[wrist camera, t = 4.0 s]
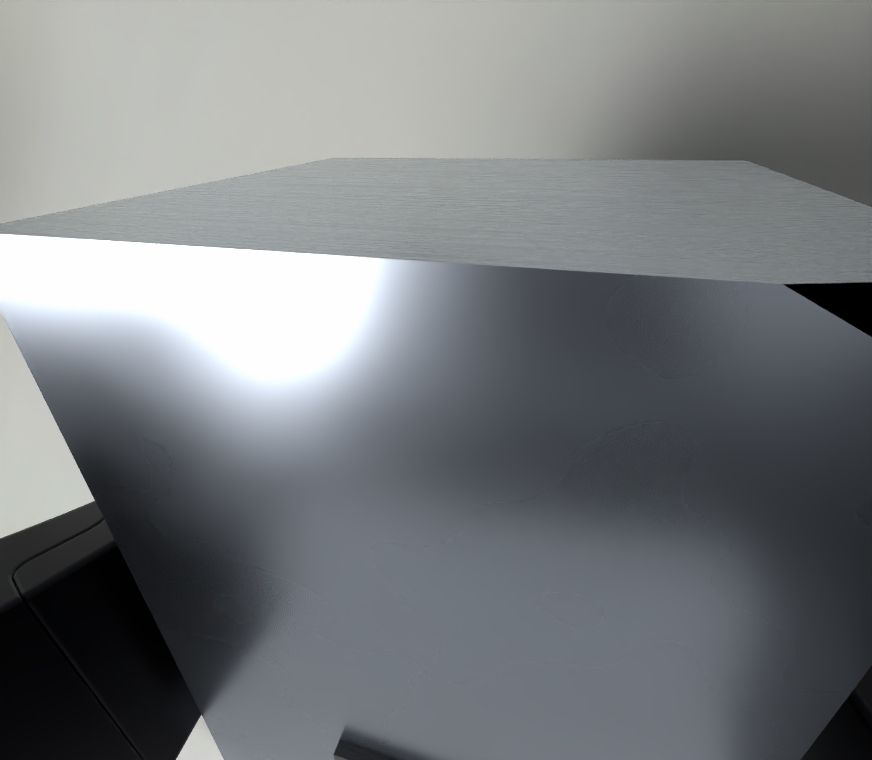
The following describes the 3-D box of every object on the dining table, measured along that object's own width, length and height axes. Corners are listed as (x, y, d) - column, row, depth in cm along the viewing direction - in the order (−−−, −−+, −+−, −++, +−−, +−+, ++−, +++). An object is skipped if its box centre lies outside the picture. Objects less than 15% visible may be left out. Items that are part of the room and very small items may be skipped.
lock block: (746, 160, 6) (1183, 322, 2) (625, 599, 11) (645, 984, 6) (334, 157, 8) (-63, 237, 3) (377, 543, 12) (239, 815, 8)
